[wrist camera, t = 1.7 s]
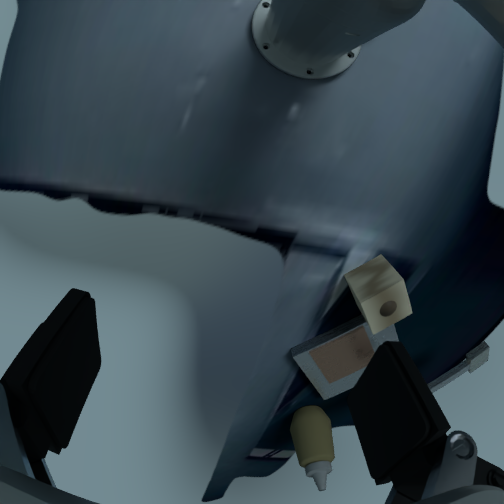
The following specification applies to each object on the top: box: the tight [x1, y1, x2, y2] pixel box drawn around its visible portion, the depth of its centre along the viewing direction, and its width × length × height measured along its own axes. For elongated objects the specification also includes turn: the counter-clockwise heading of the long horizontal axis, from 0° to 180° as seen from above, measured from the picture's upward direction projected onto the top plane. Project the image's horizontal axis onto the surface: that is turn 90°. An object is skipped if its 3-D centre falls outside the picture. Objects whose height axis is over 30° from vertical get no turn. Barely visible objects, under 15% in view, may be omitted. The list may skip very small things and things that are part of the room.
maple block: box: [344, 255, 412, 335], centre depth 37 cm, size 6×6×7 cm
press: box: [291, 314, 399, 400], centre depth 40 cm, size 16×15×12 cm
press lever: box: [427, 341, 489, 393], centre depth 36 cm, size 21×4×4 cm, turn 120°
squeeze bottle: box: [290, 405, 335, 491], centre depth 44 cm, size 8×8×18 cm
